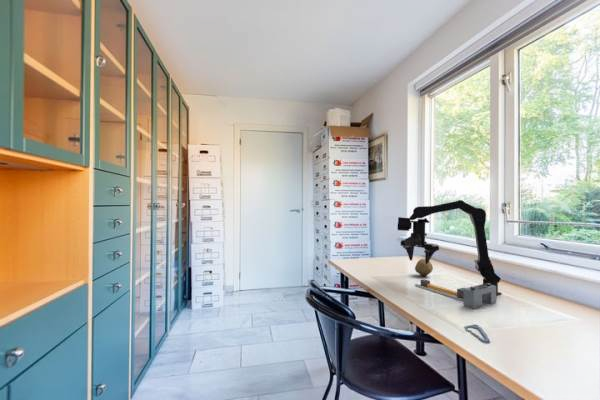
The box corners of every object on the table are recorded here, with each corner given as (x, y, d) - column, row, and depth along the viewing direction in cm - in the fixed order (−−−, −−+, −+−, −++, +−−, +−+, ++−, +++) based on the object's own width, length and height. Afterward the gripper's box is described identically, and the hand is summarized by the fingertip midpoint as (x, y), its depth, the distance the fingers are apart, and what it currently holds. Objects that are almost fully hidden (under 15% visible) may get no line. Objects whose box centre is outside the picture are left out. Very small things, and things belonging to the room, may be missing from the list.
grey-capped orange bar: (419, 286, 138) (419, 278, 139) (425, 285, 141) (425, 277, 141) (466, 301, 118) (466, 291, 118) (472, 299, 120) (472, 290, 120)
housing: (429, 282, 144) (429, 268, 144) (496, 302, 116) (496, 284, 116) (407, 287, 137) (407, 271, 137) (473, 309, 108) (473, 289, 108)
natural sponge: (436, 278, 153) (436, 260, 153) (419, 278, 153) (419, 260, 153) (428, 274, 162) (428, 257, 162) (413, 274, 162) (413, 257, 162)
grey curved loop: (473, 343, 83) (492, 344, 82) (473, 340, 83) (492, 341, 82) (462, 326, 95) (479, 327, 93) (462, 323, 95) (479, 324, 93)
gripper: (393, 230, 144) (392, 260, 144) (424, 234, 127) (424, 267, 127) (407, 229, 149) (407, 258, 149) (439, 233, 133) (439, 265, 133)
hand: (418, 262), depth 139 cm, fingers open, 9 cm apart
